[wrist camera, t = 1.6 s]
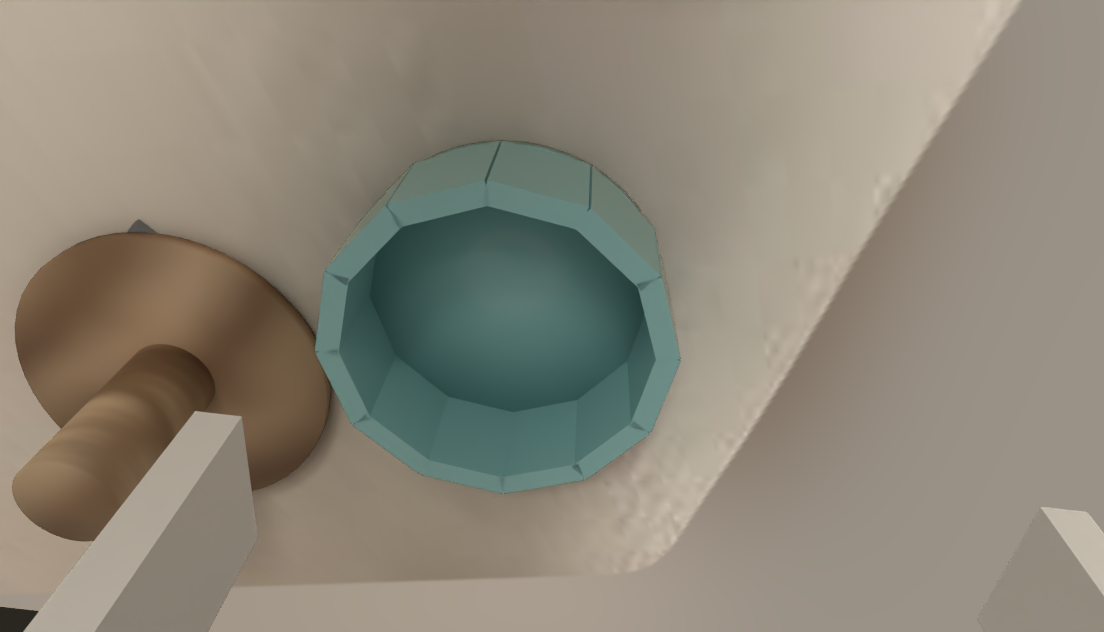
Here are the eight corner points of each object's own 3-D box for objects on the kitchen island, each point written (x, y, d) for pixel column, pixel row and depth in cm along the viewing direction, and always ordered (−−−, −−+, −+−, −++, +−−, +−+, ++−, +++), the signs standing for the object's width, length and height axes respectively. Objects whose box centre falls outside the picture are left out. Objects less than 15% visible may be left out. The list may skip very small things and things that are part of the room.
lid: (-25, 366, 40) (-191, 494, 32) (116, 164, 34) (-44, 257, 26) (227, 527, 45) (142, 674, 37) (391, 376, 39) (333, 512, 31)
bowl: (297, 287, 37) (249, 350, 32) (500, 67, 32) (481, 102, 26) (516, 459, 42) (505, 537, 37) (729, 295, 36) (750, 361, 31)
